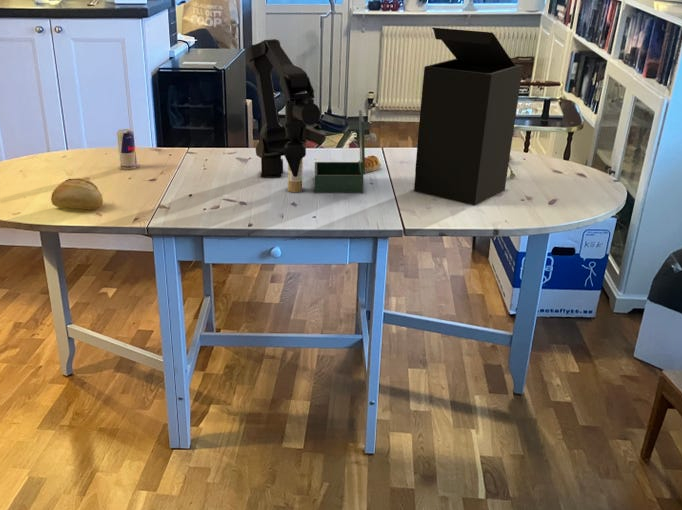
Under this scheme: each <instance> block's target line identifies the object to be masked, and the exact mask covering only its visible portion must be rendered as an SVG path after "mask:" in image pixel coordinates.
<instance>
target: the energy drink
mask: <svg viewBox="0 0 682 510" xmlns="http://www.w3.org/2000/svg"><path fill="white" fill-rule="evenodd" d="M116 138H117V139H116V140H117V147H118V154H119V163H120V164H119V165H120V168H121V169H122V170H127V171H129V170H131V171H132V170H135V169H136V168H137V167H138V163H137V161H138V160H137V153H136V143H135V134H134V131H133V129H130V128H128V129H127V128H125V129H124V128H123V129H118V130H117V132H116Z"/></svg>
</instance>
